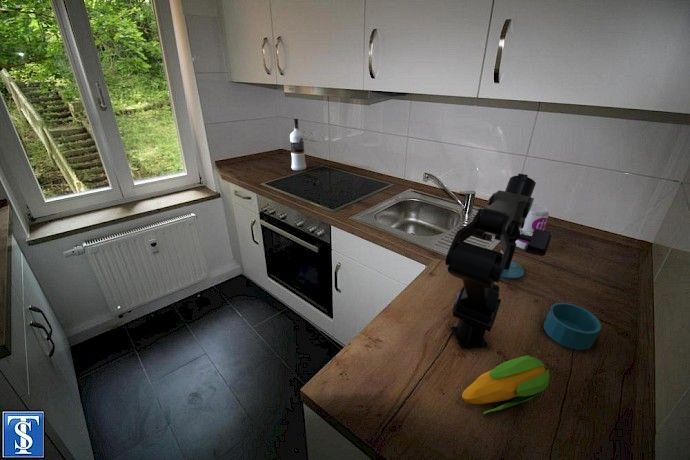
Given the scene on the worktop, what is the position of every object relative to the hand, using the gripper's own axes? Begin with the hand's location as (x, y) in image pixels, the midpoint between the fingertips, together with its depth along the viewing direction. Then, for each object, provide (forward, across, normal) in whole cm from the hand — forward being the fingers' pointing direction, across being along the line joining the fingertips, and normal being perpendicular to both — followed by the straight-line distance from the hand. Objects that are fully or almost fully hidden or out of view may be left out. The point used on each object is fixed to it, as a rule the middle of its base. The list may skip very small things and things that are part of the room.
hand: (507, 244), depth 89 cm
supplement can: (+30, -2, -11) cm, 32 cm away
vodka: (+42, +129, -24) cm, 138 cm away
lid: (+15, 0, +3) cm, 15 cm away
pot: (+2, -19, +17) cm, 26 cm away
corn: (-17, -10, +37) cm, 42 cm away
